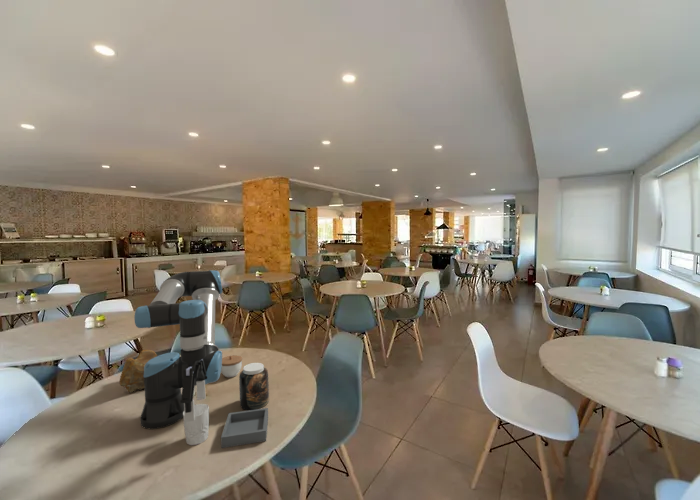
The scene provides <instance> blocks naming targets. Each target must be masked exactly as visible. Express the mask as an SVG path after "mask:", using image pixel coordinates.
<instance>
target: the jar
mask: <svg viewBox="0 0 700 500" xmlns="http://www.w3.org/2000/svg"><path fill="white" fill-rule="evenodd" d="M238 376H239V378H238V379H239V380H238V381H239V385H238V386H239V388H238V389H239V405H240V408H241V409H243V410H244V411H248V410H256V409H263V408H264V407H266V406H267V405H268V404H269V401H270V391H269V390H270V387H269V386H270V384H269V382H270V381H269V372H268V369H267V368H266V367H265V365H264V364H263V363H261V362H251V363H247V364H246V365H244V366H242V370H240V372H239V375H238Z"/></svg>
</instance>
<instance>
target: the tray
mask: <svg viewBox="0 0 700 500" xmlns="http://www.w3.org/2000/svg"><path fill="white" fill-rule="evenodd" d="M268 424H269V408H268V407H265V408H264V407H262V408H260V409H256V410H243V411H235V412H229V413H228V415H227V418H226V421H225V424H224V427H223V431H222V433H221V437H220V442H221V446H220V447H221V448H220V449H225V448H231V447H236V446H237V447H238V446H242V445H249V444H256V443H262V442H267V438H268V437H267V435H268V426H269V425H268Z"/></svg>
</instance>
